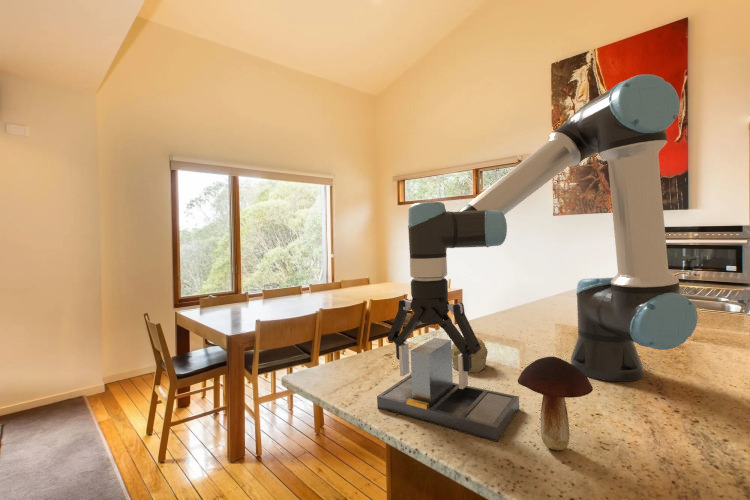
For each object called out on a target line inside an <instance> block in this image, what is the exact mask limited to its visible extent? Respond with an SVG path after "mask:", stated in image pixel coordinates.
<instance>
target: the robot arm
mask: <svg viewBox="0 0 750 500" xmlns="http://www.w3.org/2000/svg"><path fill="white" fill-rule="evenodd" d="M680 108H681V101H680V97H679V95H678V92H677V91H676V89H675V88H674V86H673V85H672V84H671V83H670V82H669V81H665V79H664V78H663V77H661V76H658V75H655V74H645V73H644V74H638V75H635V76H632V77H630V78H628V79H626V80H623V81H621V82H619V83H616V84H615V85H614V86H613V87H612V88H610V89H609V90H607V91H605V92H603V93H602V94H600V95H599V96H597V97H595V98H593V99H590V101H588V102H586V103H585V104H583V106H581V107H580V108H579V109H577V111H576V112H575V113H574V114H573V115H572V116H570V117H569V118H568V119H566V121H565V122H564V123H562V125H560V126H559V127H558V128H557V129H555V130H554V131H553V132H551V134H549V136H548V138H547V142H546V143H545V144H543V145H542V146H540V147H539V148H538V149H537V150H535V151H534V152H533V153H531V154H530V155H529V156H528V157H526V158H525V159H524V160H522V161H521V162H520V163H518V164H517V165H516V166H515V167H513V168H512V169H511V170H509V171H508V172H507V173H505V174H504V175H503V176H501V177H500V178H499V179H498V180H496V181H495V182H494V183H493V184H491V185H489V187H488V188H486V189H484V190H483V191H482V192H481V193H480V194H478V195H477V196H475V197H474V198H473V199H472V200H471V201H469V202H468V203H467V204H466V205H464V206H462V208H461V209H459V210H458V211H449V210H447V209H446V206H445V203H444V202H441V201H425V202H415V203H413V204H411V205H410V206H409V208H408V226H407V230H408V246H409V248H408V249H409V274H410V275H409V276H410V278H413V279H411V281H410V296H411V300H410V299H409V298H403V299H401V300H399V301H398V308H397V309H398V310H397V312H396V316H395V317H394V321H393V323H392V325H391V328H390V329H389V333H388V335H387V340H388V342H393V343H394V345H395V353H396V354H395V355H396V359H397V360H399V376H400V377H405V376H406V375H408V374H409V373H410V355H409V352H410V351H409V343H408V342H406V341H407V339H408V338H409V337H410V335H411V334H412V333H413V332H414V330H415V329H416V328H417V326H418V325H419V323H420V322H421V324H430V325H438V326H439V328H441V329H443V331H444V332H445V333H446V335H447V336H448V337H449V340H451V342H452V343H454V344H455V345H456V347H457V348H458V349H459V351H460V352H461V354H459V355H458V370H457V371H458V384H459V389H464V388H465V387H466V386H469V378H468V376H469V374H468V373H470V372H469V371H470V370H471V368H472V359H471V355H472V354H476V353H477V352H478V351H479V350H480V349H481V346H480V344H479V342H478V340H477V338H478V337H477V336H476V334H475V332H474V330H473V328H472V326H471V324H470V322H469V319H468V318H467V316H466V312H465V306H464V303H463V302H458V303H452V304H450V302H449V289H448V288H449V286H448V285H449V284H448V279H447V278H446V277H447V276H448V263H447V262H448V259H447V258H448V257H447V256H448V255H447V249H455V248H456V249H458V248H459V249H460V248H462V249H463V248H490V247H498V246H502V245H503V243H504V242H505V241H506V238H507V233H508V225H507V224H508V223H507V219H506V217H505V215H506V214H508V213H509V212H511V210H513V209H514V208H515V207H517V206H518V205H520V204H521V203H522V202H523V201H524V200H526V199H527V198H529V197H530V196H532V195H533V194H534V193H535V192H537V191H538V190H539V189H540V188H542V187H543V186H545V185H546V184H547V183H548V182H549V181H551V180H552V179H553V178H555V177H556V176H557V175H559V174H560V173H561V172H562V171H564V170H565V169H566V168H567V167H575V166H577V165H579V164H580V163H581V162H583V161H584V160H585V159H588V158H589V157H591V156H594V155H596V154H598V157H600V158H602V159H604V160H605V161H606V162H607V167H608V179H609V188H610V199H611V211H612V221H613V231H614V232H613V233H614V242H615V243H614V244H615V255H616V256H615V257H616V263H617V264H616V266H617V274H616V275H615V276H614V277H597V278H594V277H593V278H582V279H580V280H579V281H578V282H577V286H576V294H575V295H576V302H577V305H576V306H577V339H576V342H575V345H574V348H573V351H572V353H571V356H570V364H572V365H574V366H575V367H577V368H578V369H579V370H581V371H582V372H583V373H584V374H585V375H586V377H587V378H591V379H592V378H593V379H597V380H600V381H606V382H607V381H608V382H623V383H624V382H633V381H638V380H640V379H642V378H643V376H644V367H643V363H642V360H641V358H640V356H639V353H638V350H637V347H636V345H635V344H637V345H639V346H642V347H646V348H651V349H654V350H660V351H665V350H673V349H675V348H678V347H679V346H681V345H683V344H684V343H686V341H687V340H688V338H690V337H692V335H693V333H694V332H695V330H696V328H697V324H698V315H699V314H698V310H697V307H696V305H695V304H694V303H693V302H692V301H690V299H689V298H688V297H686V296H685V295H683V294H682V293H681V289H680V281H679V278H677V277H676V276H675V275H673V274H672V273H671V272H670V271H669V264H668V263H669V261H668V251H667V240H666V238H667V237H666V229H665V218H664V217H665V216H664V214H665V213H664V207H663V206H664V204H663V195H662V192H663V191H662V181H661V171H660V170H661V169H660V159H659V158H660V157H659V153H660V151H661V150H662V149H663V148H664V147H665V146H666V145H667V144H668V138H667V129H668V128H669V127H670V126H672V124H673V123H674V122H675V119H677V118H678V116H679V112H680V110H681V109H680ZM410 309H411V310H412V311H413V315H412V316H411V318H410V319H409V321H408V323H407V324H406V325H405V326H404V323H405V321H406V318H407V316H408V313H409V310H410ZM449 312H451V315H453V316H454V319H455V322H456V324H457V326H458V328H459V330H460V331H459V330H458V328H457V327H456V326H455V324H454V323H453V321H452V318H451V317H450V316H449V314H448V313H449ZM403 326H404V328H403ZM402 328H403V329H402ZM401 330H402V331H401ZM463 337H464V338H463ZM476 337H477V338H476Z"/></svg>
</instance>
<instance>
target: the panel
mask: <svg viewBox="0 0 750 500" xmlns="http://www.w3.org/2000/svg"><path fill="white" fill-rule="evenodd" d="M452 365H453V362H452V340H451V339H447V338H446V339H445V338H439V337H438V338H437V337H434V338H431V339H430V340H428V341H426V342H424V343H422V344H420V345H419V346H417V347H415V348H414V349H412V350H410V367H411V368H410V369H411V372H410V373H411V374H412V397H413V399H414V400H418V401H422V402H426V403H429V408H431V407H433V406H434V405H435V404H436V403H437V402H438V401H440V400H441V399H442V398H443V397H444V396H445V395H446V394H448V393H449V392H450V391H451V390H452V389H453V383H454V380H453V379H454V378H453V376H454V375H453V366H452Z"/></svg>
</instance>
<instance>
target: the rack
mask: <svg viewBox="0 0 750 500" xmlns="http://www.w3.org/2000/svg"><path fill="white" fill-rule="evenodd" d="M376 403H377V406H376V407H377V409H379V410H383V411H387V412H390V413H393V414H398V415H401V416H404V417H408V418H412V419H415V420H418V421H422V422H425V423H428V424H429V423H430V424H433V425H436V426H439V427H443V428H447V429H450V430H454V431H458V432H461V433H463V434H464V433H465V434H468V435H471V436H475V437H478V438H483V439H485V440H489V441H493V442H495V443H498V442H499V440H500V439H501V437H502V435H503V434H504V433H505V431H506V430H507V428H508V427H509V425H510V424H511V422H512V421H513V419H514V418H515V416H516V414H517V413H518V411H519V410H520V396H517V395H514V394H507V393H504V392H499V391H494V390H490V389H489V390H488V389H484V388H480V387H474V386H471V385H467V386H466V387H465V388H464V389H459V383H457V382H456V383H455V382H453V389H452V390H451V391H450V392H449V393H448V394H446V395H445V396H444V397H443V398H442V399H441V400H440V401H438V402H437V403H436V404H435V405H434V406H433V407H431V408H429V403H426V402H422V401H418V400H414V399H413V397H412V373H411V374H409V375H407V376H406V377H404V378H402V379H401V380H399V381H398V382H396V383H395V384H393V385H392V386H391V387H389V388H387V389H386V390H384V391H383V392H381V393H379V394H378V395H377V396H376Z"/></svg>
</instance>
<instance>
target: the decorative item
mask: <svg viewBox="0 0 750 500" xmlns="http://www.w3.org/2000/svg"><path fill="white" fill-rule="evenodd" d="M463 338H464V337H463ZM476 338H477V340H478V342H479V344H480V346H481V349H480V350H479V351H478V352H477V353H476V354H472V355H471V359H472V368H471V370H470V371H469V372H468V373H477V372H478V373H479V372H481V371H482V370H484V369H485V368H486V364H487V357H488V352H489V351H488V349H487V347H486V344H485V343H484V342H483V340H482V339H480V337H478V336H476ZM452 343H453V342H452ZM451 347H452V368H454V369H455V370H457V371H458V355H459V354H461V352H460V351H459V349H458V348H457V347H456V345H455V344H454V343H453V344H451Z"/></svg>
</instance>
